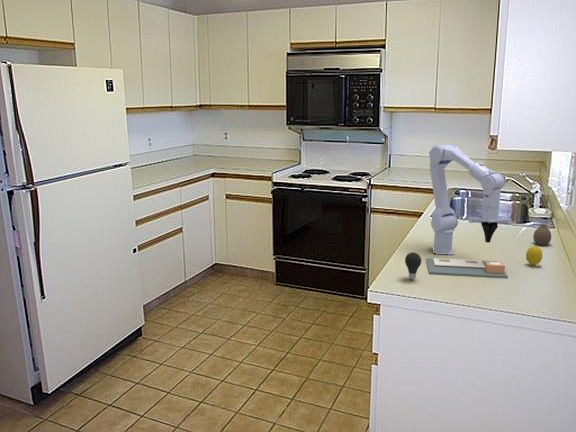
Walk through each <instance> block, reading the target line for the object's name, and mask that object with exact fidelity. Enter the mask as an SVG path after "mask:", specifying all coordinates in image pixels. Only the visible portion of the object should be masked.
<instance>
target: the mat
mask: <svg viewBox="0 0 576 432" xmlns="http://www.w3.org/2000/svg"><path fill="white" fill-rule="evenodd" d="M433 258H434V257H433ZM433 258H431V257H426V258H425V261H427V262H426V266H427V265H428V266H427V270H428V274H429V275H437V276H438V275H439V276H456V277H457V276H458V277H475V278H476V277H477V278H478V277H479V278H493V279H494V278H495V279H508V278H509V275H508V274H507V273H506V271H505V272H504V274H498V273H487V272H486V271H485V269H475V268H455V267H436V266H435V265H434V261H433ZM481 261H482V262H483V264H484V266H485V261H487V262H498V261H496V260H495V261H492V260H481Z"/></svg>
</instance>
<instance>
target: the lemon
mask: <svg viewBox="0 0 576 432" xmlns="http://www.w3.org/2000/svg"><path fill="white" fill-rule="evenodd" d="M525 254H526V255H525V259H526V261H527V262H528V263H529V264H530V265H531V266H532V267H533V266H534V267H535V266H536V265H538V264H540V263H541V262H542V259H543V250H542V249H541V248H540V247H538V246H537V245H534V246H530V247H529V248H528V249H527V251H526V253H525Z"/></svg>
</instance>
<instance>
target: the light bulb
mask: <svg viewBox="0 0 576 432" xmlns="http://www.w3.org/2000/svg"><path fill="white" fill-rule="evenodd" d="M404 263H405V266H406V267H407V270H408V279H410V280H411V279H414V280H416V278H417V273H418V270H419V268H420V266H421V264H422V257H421V256H420V254H418V253H417V252H409V253H407V255H406V256H405V258H404Z"/></svg>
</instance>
